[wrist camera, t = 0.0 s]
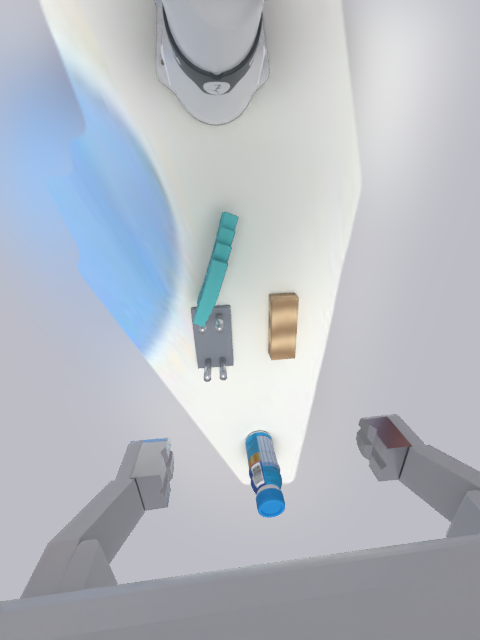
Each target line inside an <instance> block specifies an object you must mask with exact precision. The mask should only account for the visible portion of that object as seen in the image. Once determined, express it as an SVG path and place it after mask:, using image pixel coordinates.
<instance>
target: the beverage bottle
mask: <svg viewBox="0 0 480 640" xmlns="http://www.w3.org/2000/svg"><path fill="white" fill-rule="evenodd" d="M246 449H247V456H248V464H249V476H250V479H251V486H252V488H253V490H254V492H255V493H256V495H257V496H256V502H257V509H258V512H259V514H260V515H262V516H263V517H275V516H278V515H280V514H281V513H282V512H283V511H284V509H285V502H284V498H283V494H282V492H281V490H280V489H281V485H282V478H281V475H280V468H279V465H278V463H277V459H276V456H275V452H274V448H273V443H272V439H271V436H270V435H269V434H268V433H266V432H263V431H257V432H253V433H251V434H250V435H249V436H248V437H247V439H246Z"/></svg>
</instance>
